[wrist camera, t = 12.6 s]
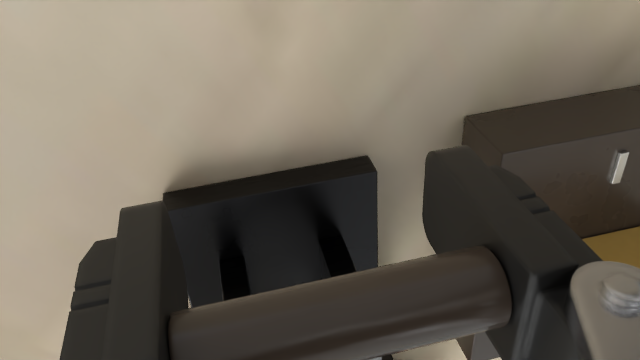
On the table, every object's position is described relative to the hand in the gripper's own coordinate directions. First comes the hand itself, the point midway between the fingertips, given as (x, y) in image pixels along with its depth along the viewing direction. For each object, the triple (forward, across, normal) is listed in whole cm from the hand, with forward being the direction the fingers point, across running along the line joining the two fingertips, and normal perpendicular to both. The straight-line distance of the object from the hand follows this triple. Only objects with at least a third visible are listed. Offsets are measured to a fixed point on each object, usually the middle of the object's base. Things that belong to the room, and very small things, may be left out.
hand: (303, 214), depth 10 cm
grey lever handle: (-1, 0, +5) cm, 5 cm away
